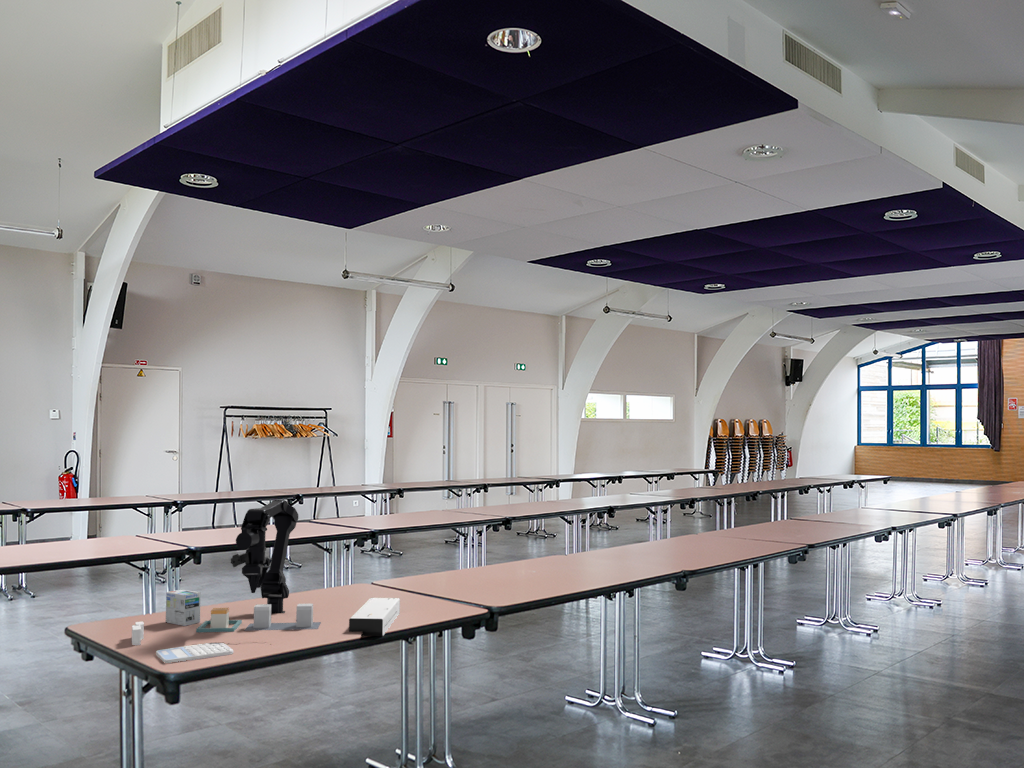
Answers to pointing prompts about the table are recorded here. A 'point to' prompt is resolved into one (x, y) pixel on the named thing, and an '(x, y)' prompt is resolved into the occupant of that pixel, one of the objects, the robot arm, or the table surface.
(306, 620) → the block
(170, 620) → the light bulb box
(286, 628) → the board
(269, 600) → the robot arm
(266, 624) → the block
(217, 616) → the block
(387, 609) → the laminator
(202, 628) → the teal tray
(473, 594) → the table surface
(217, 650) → the calculator
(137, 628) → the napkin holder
